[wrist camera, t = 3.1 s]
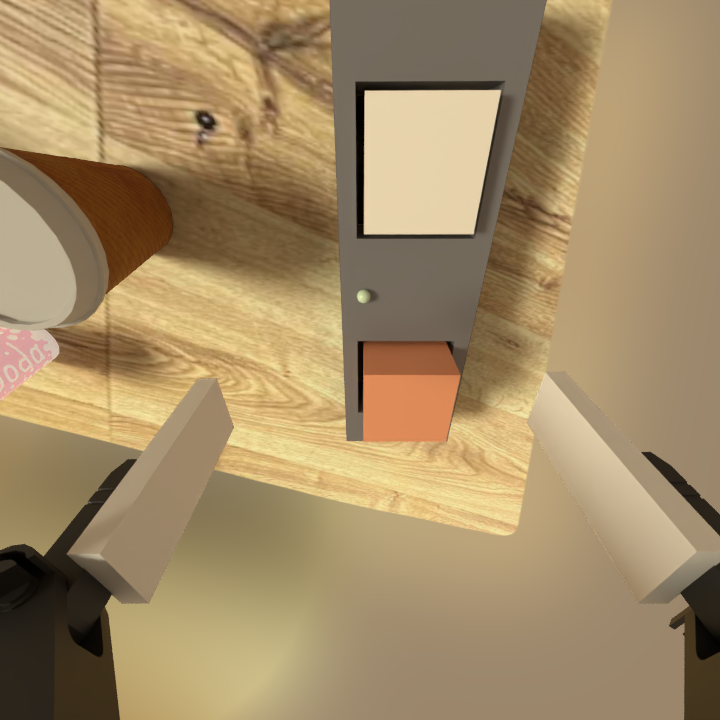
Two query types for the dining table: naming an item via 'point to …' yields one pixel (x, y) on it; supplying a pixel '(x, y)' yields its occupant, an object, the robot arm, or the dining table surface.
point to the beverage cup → (23, 356)
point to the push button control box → (471, 251)
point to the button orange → (408, 390)
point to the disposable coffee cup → (71, 235)
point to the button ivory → (426, 159)
